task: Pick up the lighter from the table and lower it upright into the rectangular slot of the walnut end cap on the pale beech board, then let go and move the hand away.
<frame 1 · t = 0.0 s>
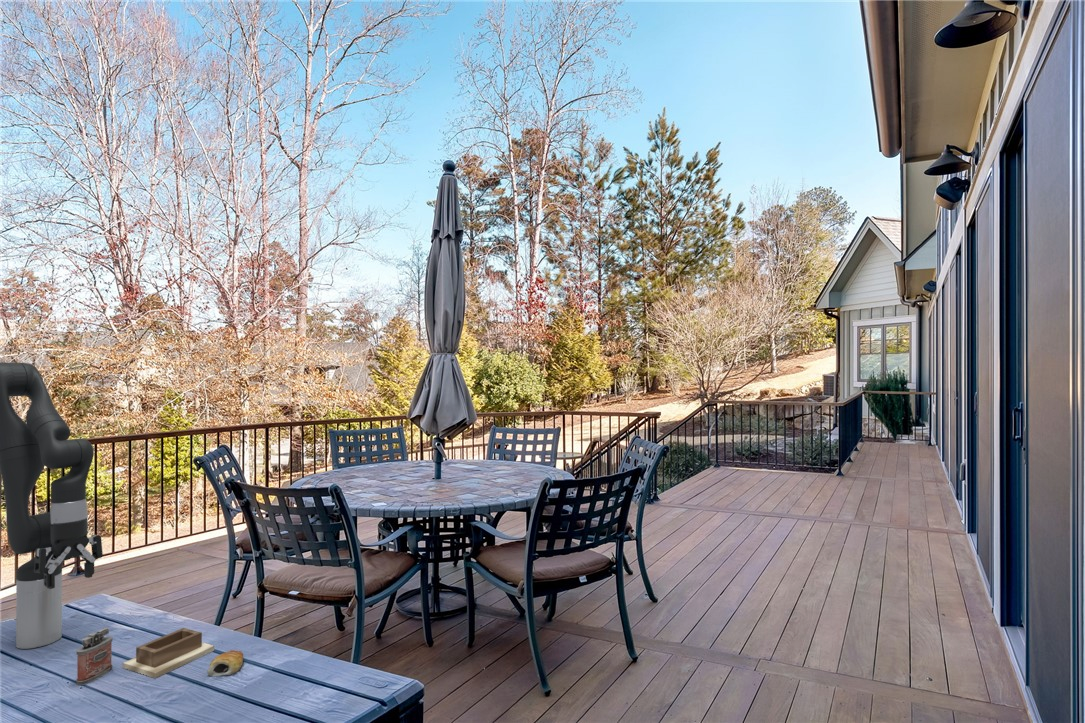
hand: (69, 582, 153), 17 cm above the table, tool pointing down, fingers open, 8 cm apart
pastry: (226, 670, 144), on the table
lighter: (94, 677, 140), on the table
end cap: (169, 659, 148), on the table
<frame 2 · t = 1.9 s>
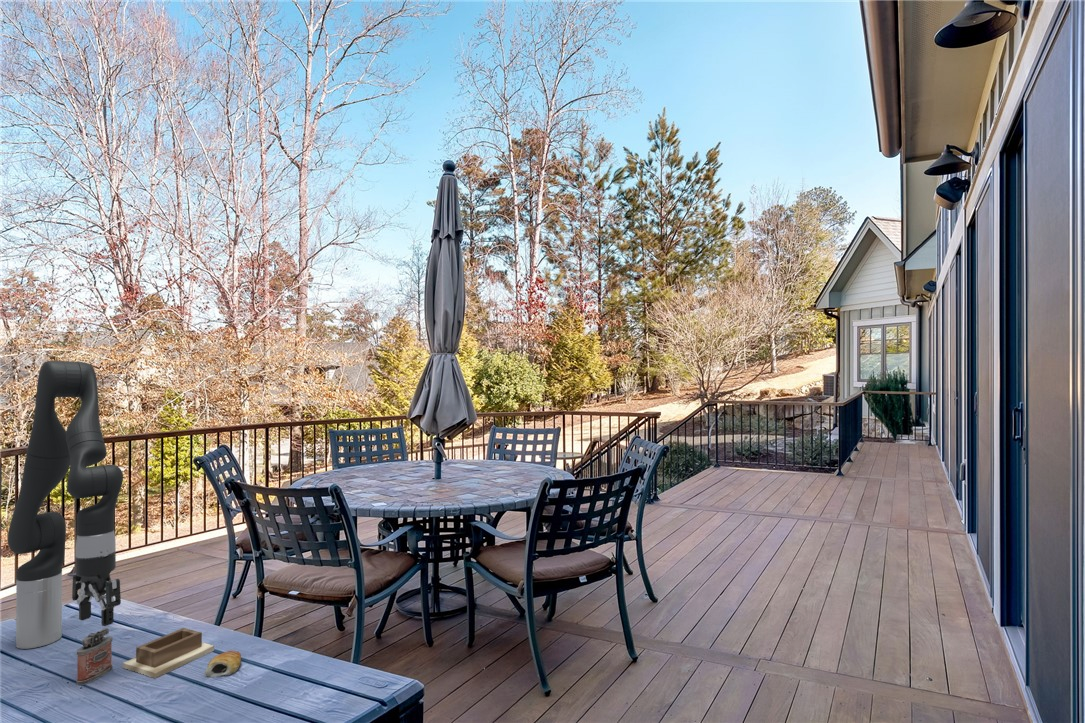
hand: (96, 621, 140), 12 cm above the table, tool pointing down, fingers open, 8 cm apart
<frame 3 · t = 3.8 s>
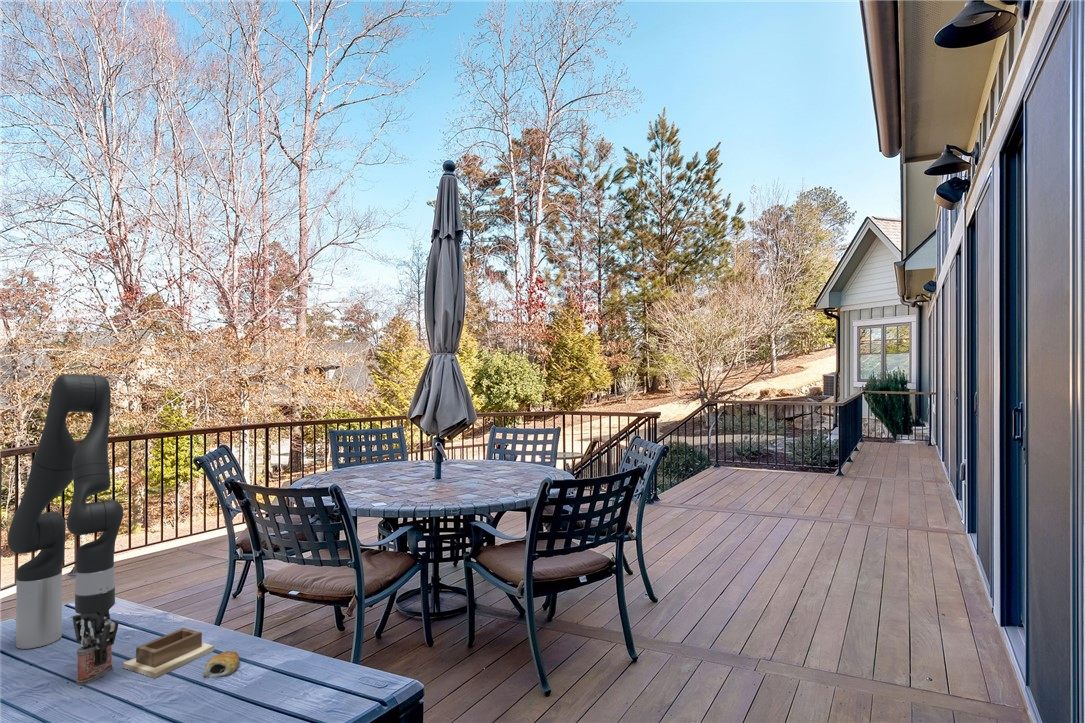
hand: (95, 662, 140), 3 cm above the table, tool pointing down, fingers closed on lighter, 3 cm apart
lighter: (94, 676, 140), on the table, touching gripper
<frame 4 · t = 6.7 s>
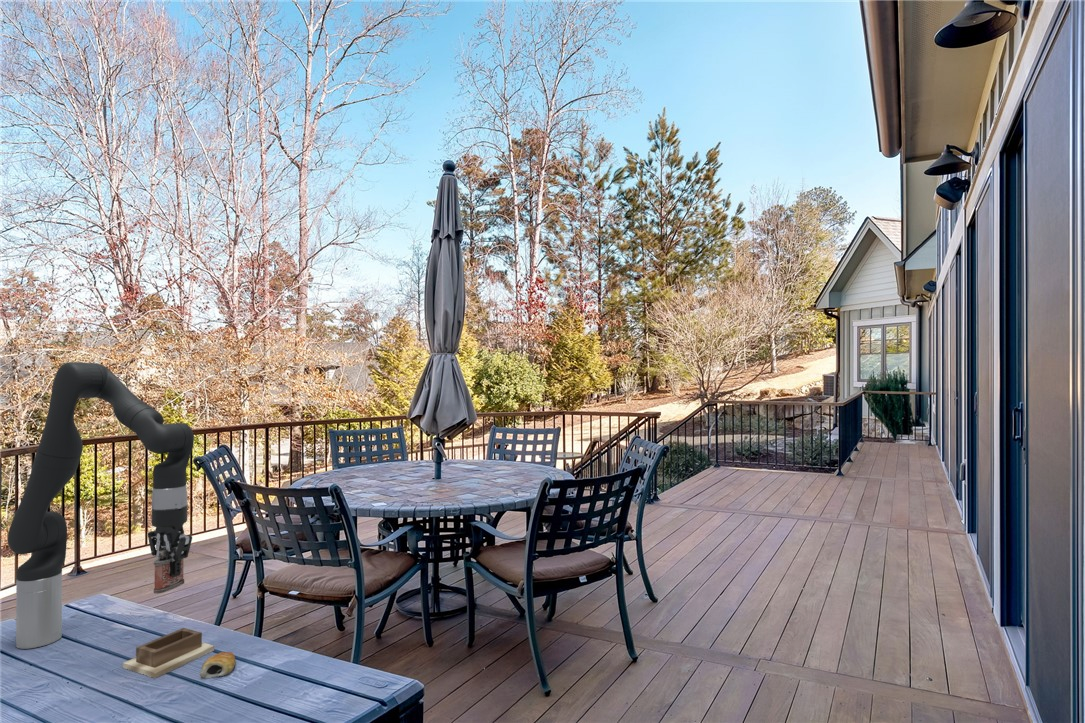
hand: (169, 574, 149), 21 cm above the table, tool pointing down, fingers closed on lighter, 3 cm apart
lighter: (169, 588, 148), point 17 cm above the table, touching gripper
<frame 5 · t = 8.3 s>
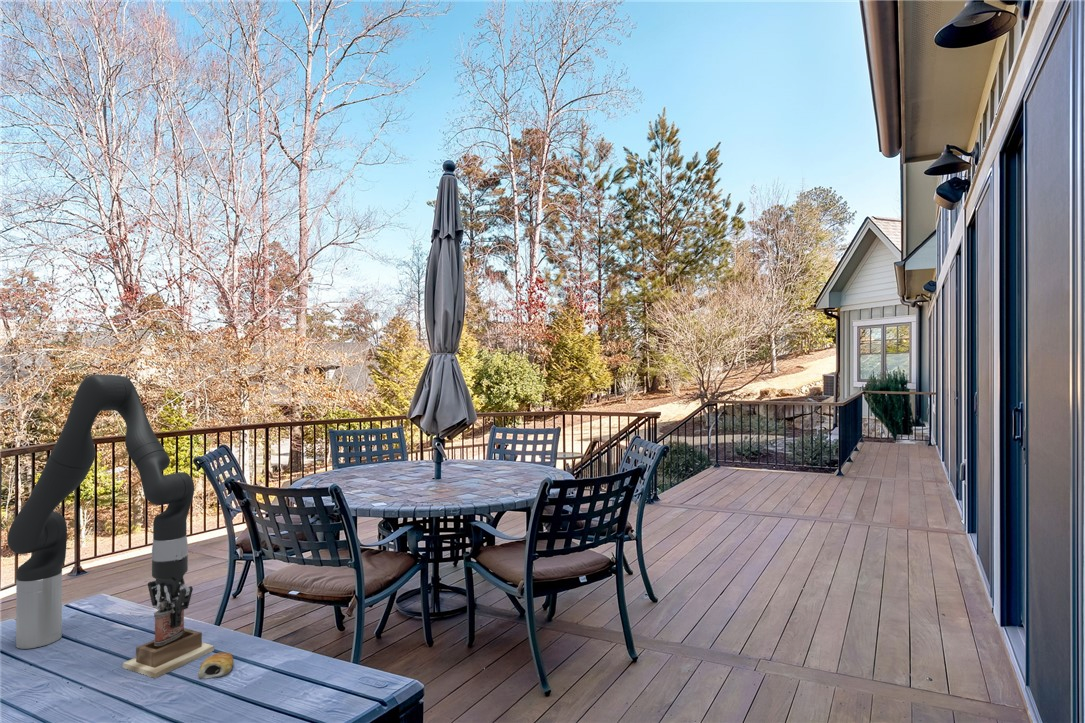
hand: (169, 625, 148), 8 cm above the table, tool pointing down, fingers closed on lighter, 3 cm apart
lighter: (169, 639, 148), point 5 cm above the table, touching gripper
when the fingers open (6 cm above the table, at t = 9.5 s): lighter drops 1 cm, resting on end cap.
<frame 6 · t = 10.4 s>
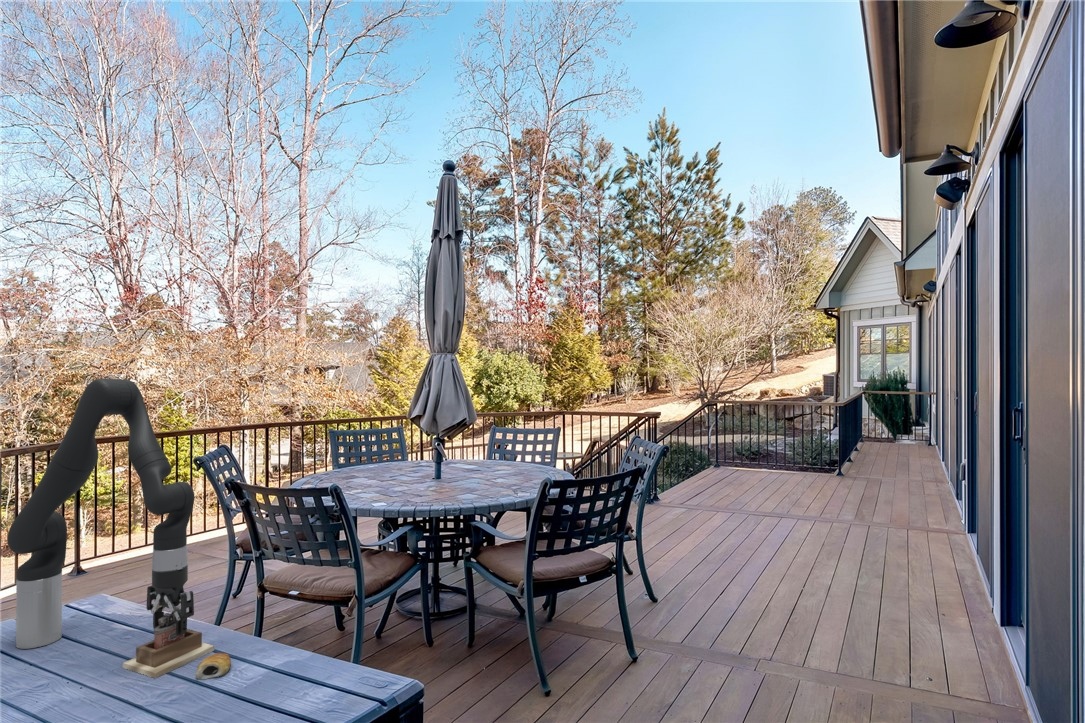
hand: (169, 631, 148), 7 cm above the table, tool pointing down, fingers open, 8 cm apart
lighter: (169, 654, 148), point 1 cm above the table, touching end cap
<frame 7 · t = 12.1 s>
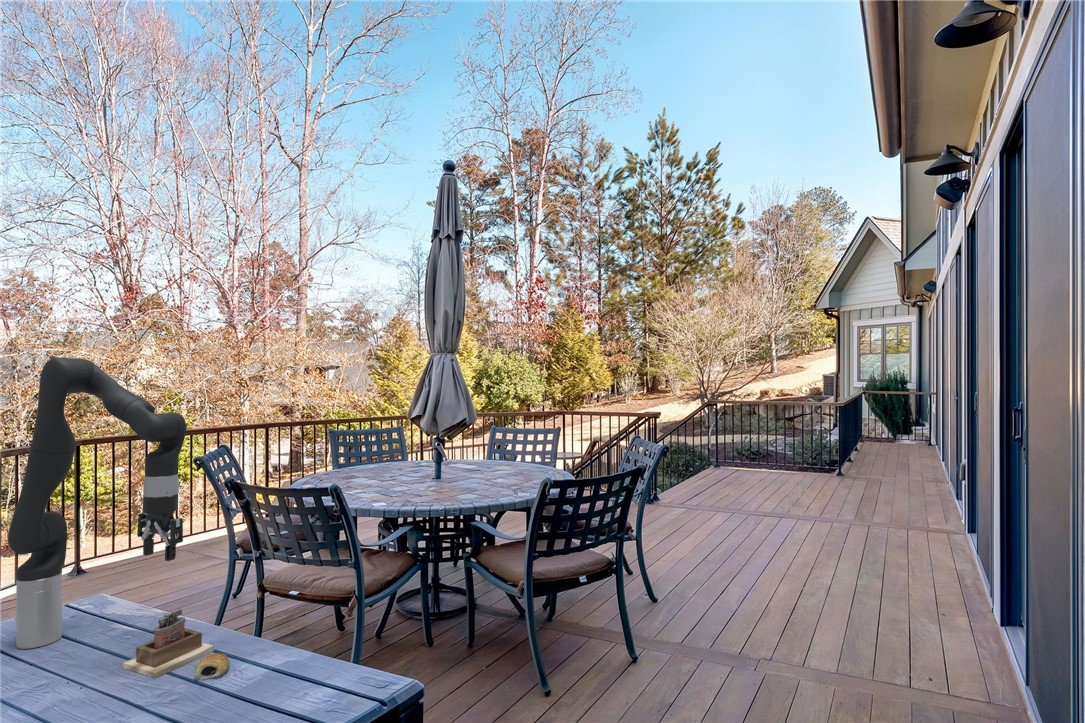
hand: (159, 557, 151), 24 cm above the table, tool pointing down, fingers open, 8 cm apart
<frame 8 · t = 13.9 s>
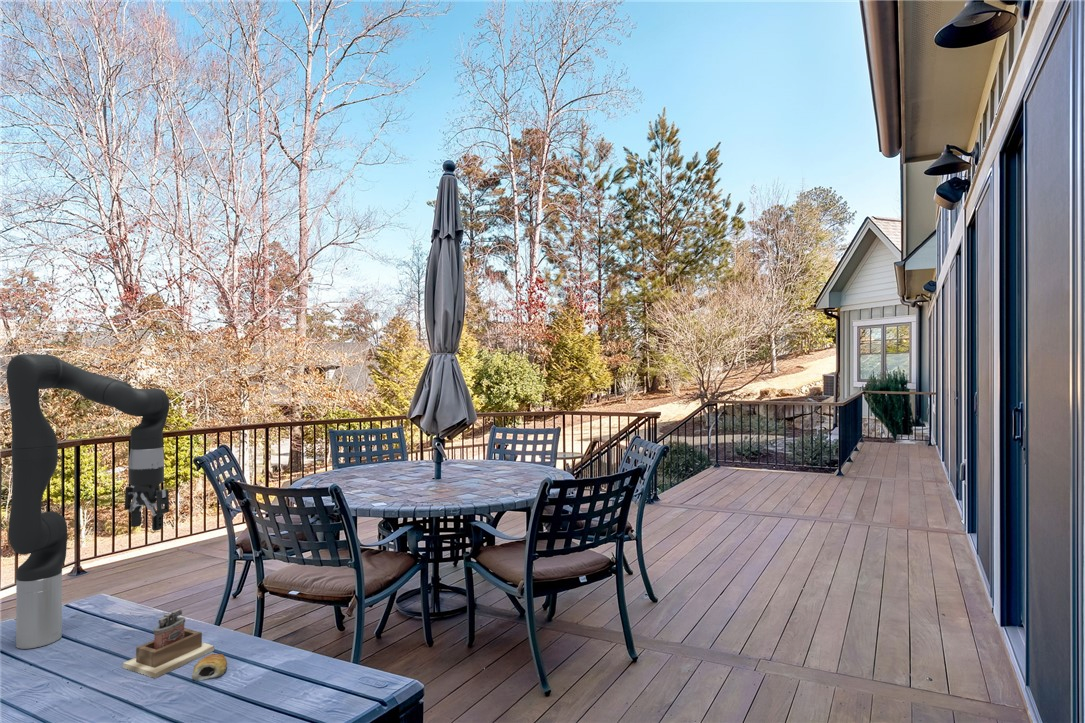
hand: (146, 528, 156), 30 cm above the table, tool pointing down, fingers open, 8 cm apart
at the end: lighter 0.0 cm off-centre on the end cap, point 1.0 cm above the end cap's base; lighter tilted 0°; the gripper is holding nothing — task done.
